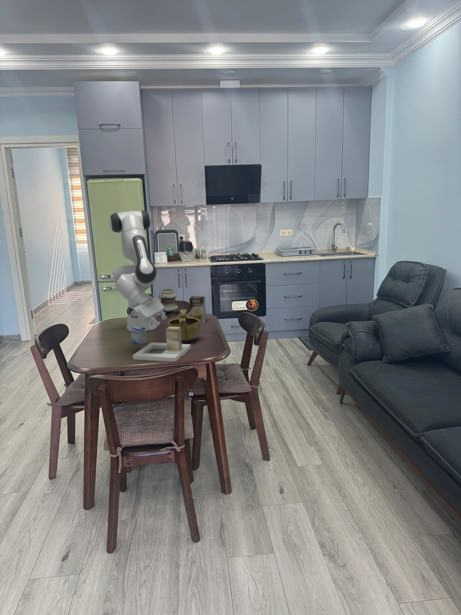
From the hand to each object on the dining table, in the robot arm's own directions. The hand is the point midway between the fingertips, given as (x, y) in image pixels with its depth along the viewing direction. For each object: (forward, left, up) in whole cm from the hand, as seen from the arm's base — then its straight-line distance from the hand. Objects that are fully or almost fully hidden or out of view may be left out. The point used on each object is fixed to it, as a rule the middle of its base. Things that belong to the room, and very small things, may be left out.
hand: (161, 321), depth 203 cm
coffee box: (-59, -4, -16) cm, 61 cm away
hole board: (0, -1, -16) cm, 16 cm away
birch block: (0, +6, -14) cm, 15 cm away
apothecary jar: (-72, -30, -16) cm, 80 cm away
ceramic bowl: (-22, +2, -16) cm, 27 cm away
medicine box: (-15, -22, -17) cm, 31 cm away
